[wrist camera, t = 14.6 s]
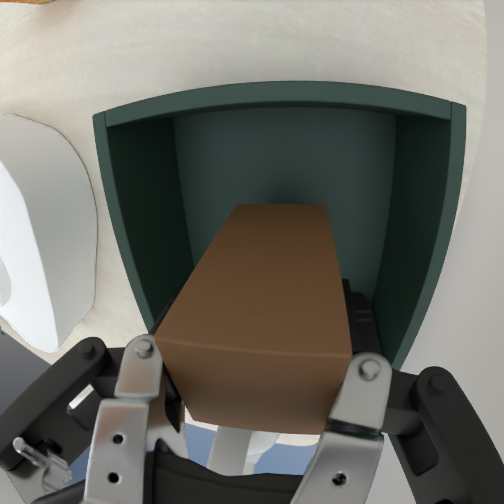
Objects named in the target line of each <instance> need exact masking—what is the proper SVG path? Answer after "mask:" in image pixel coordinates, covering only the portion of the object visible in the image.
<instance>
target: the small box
mask: <svg viewBox="0 0 504 504" xmlns="http://www.w3.org/2000/svg"><path fill="white" fill-rule="evenodd" d="M50 1H54V0H0V2H18V3H29V4H39V5H40V4H43V3H46V2H50Z"/></svg>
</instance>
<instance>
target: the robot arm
mask: <svg viewBox="0 0 504 504" xmlns="http://www.w3.org/2000/svg"><path fill="white" fill-rule="evenodd" d="M341 279H342V285H343V291H344V297H345V303H346V310H347V316H348V323H349V331H350V338H351V346H352V358H351V361H350V364H349V367H348V370H347V373H346V376H345V379H344V381H343V382H341V383H340V386H339V389H338V392H337V395H336V398H335V401H334V404H333V406H332V409H331V412H330V415H329V417H328V419H327V421H326V424H325V426H324V429H323V431H322V434H321V436H320V439H319V441H318V443H317V446H316V448H315V451H314V453H313V455H312V457H311V459H310V462H309V464H308V466H307V468H306V470H305V472H304V475H288V474H273V473H262V474H251V475H236V476H225V475H221V474H219V473H216V472H214V471H212V470H210V469H208V468H206V467H204V466H202V465H200V464H198V463H196V462H194V461H192V460H190V459H189V458H188V457H189V456H188V449H187V445H186V442H185V436H184V424H185V404H184V402H183V400H182V398H181V396H180V394H179V392H178V391H177V389H176V387H175V384H174V382H173V380H172V378H171V376H170V374H169V372H168V370H167V368H166V366H165V363H164V361H163V359H162V357H161V355H160V352H159V350H158V348H157V345H156V343H155V341H154V335H155V333H156V332H157V330H158V328H159V326H160V325H161V323H162V321H163V320H164V318H165V316H166V315H167V313H168V311H169V310H170V308H171V306H172V305H173V303H174V301H175V300H176V298H177V296H178V295H179V293H180V292H181V290H182V288H183V287H184V285H185V284H183V285H182V286H181V287H179V288H178V289H177V290H175V292H174V293H173V295H172V296H171V298H170V299H169V300H170V301H168V303H167V304H166V306H165V309H163V311H162V312H161V314H160V315H159V317H158V319H157V320H156V322H155V323H154V325H153V327H152V328H151V330H150V332H149V333H148V334H143V335H139V336H137V337H135V338H134V339H132V340H131V341H130V342H129V343H128V344H127V346H126V347H122V348H107V347H106V345H105V344H104V342H103V340H101V339H100V338H98V337H88V338H85V339H83V340H81V341H80V342H78V343H77V344H76V345H75V346H74V347H73V348H71V349H70V350H69V351H68V352H67V353H66V354H64V355H63V356H62V357H61V358H60V359H59V360H58V361H56V362H55V363H54V364H53V365H52V366H51V367H50V368H48V369H47V370H46V371H45V372H44V373H43V374H42V375H41V376H40V377H38V378H37V379H36V380H35V381H34V382H33V383H32V384H31V385H30V386H29V387H27V388H26V389H25V390H24V391H23V392H22V393H21V394H20V395H19V396H18V397H17V398H16V399H14V400H13V401H12V402H11V403H10V404H9V405H8V406H7V407H6V408H5V409H4V410H3V411H2V412H1V413H0V467H1V468H2V469H3V470H4V471H5V472H6V473H7V475H8V477H9V479H10V480H11V482H12V484H13V485H14V487H15V488H16V490H17V492H18V493H19V495H20V496H21V498H22V499H23V501H24V502H25V503H26V504H365V502H366V500H367V497H368V494H369V491H370V488H371V485H372V482H373V479H374V476H375V473H376V470H377V466H378V463H379V459H380V456H381V452H382V449H383V444H384V435H382V434H381V432H385V433H388V436H389V438H390V440H391V442H392V445H393V447H394V450H395V452H396V454H397V457H398V459H399V461H400V464H401V466H402V468H403V471H404V473H405V475H406V478H407V481H408V483H409V486H410V488H411V491H412V493H413V496H414V498H415V501H416V504H504V464H503V462H502V460H501V458H500V455H499V453H498V451H497V450H496V448H495V446H494V444H493V442H492V440H491V438H490V436H489V434H488V433H487V431H486V429H485V427H484V425H483V424H482V422H481V420H480V419H479V417H478V415H477V413H476V412H475V410H474V408H473V407H472V405H471V403H470V402H469V400H468V399H467V397H466V395H465V394H464V392H463V391H462V389H461V388H460V386H459V385H458V383H457V381H456V380H455V379H454V377H453V376H452V374H451V373H450V372H448V371H447V370H446V369H444V368H441V367H437V366H432V367H428V368H426V369H424V370H423V371H421V373H420V374H419V375H414V374H409V373H404V372H400V371H398V370H395V369H393V368H392V367H391V365H390V363H389V362H388V360H387V359H386V358H384V357H383V356H382V355H381V351H380V346H379V342H378V337H377V333H376V328H375V324H374V322H373V315H372V313H371V307H370V304H369V301H368V299H367V298H366V297H365V296H364V295H363V294H362V292H351V288H350V283H349V279H343V278H341ZM89 384H90V385H91V386H92V388H93V389H94V390H93V391H91V392H90V393H89V394H88V395H87V396H86V397H85V398H84V399H83V400H82V401H81V402H80V403H79V404H78V405H77V406H76V407H75V408H74V409H72V410H67V406H68V405H69V403H70V402H71V401H73V400H74V399H75V398H76V397H77V396H78V395H79V394H80V393H81V392H82V391H83V390H84V389H85V388H86V387H87V386H88V385H89ZM90 444H91V449H90V456H89V461H88V468H87V475H86V479H84V480H82V481H79V482H77V483H75V484H73V485H70V486H68V487H65V488H63V489H61V488H62V484H63V482H64V481H65V482H69V481H71V479H72V473H71V472H70V470H68V467H69V466H70V465H71V464H72V463H73V462H74V461H75V460H76V459H77V458H78V457H79V456H80V455H81V454H82V453H83V452H84V451H85V450H86V449H87V448H88V447H89V446H90Z"/></svg>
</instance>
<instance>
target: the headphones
mask: <svg viewBox="0 0 504 504" xmlns="http://www.w3.org/2000/svg"><path fill="white" fill-rule="evenodd" d="M279 435H280V433H273V432H263V431H254V430H246V429H238V428H232V427H225V426H218V429H217V432H216V435H215V438H214V441H213V445H212V449H211V452H210V455H209V459H208V463H207V467H206V468H208V469H210V470H212V471H214V472H216V473H219V474H221V475H225V476H236V475H251V474H253V471H254V466H255V463H257V462H258V461H259V459H260V457H261V455H262V454H263V452H265V451H267V450H268V449H270V448H271V447H272V445H273V444H274V443H275V442H276V441H277V439H278V437H279Z"/></svg>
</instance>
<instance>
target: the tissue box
mask: <svg viewBox="0 0 504 504" xmlns="http://www.w3.org/2000/svg"><path fill="white" fill-rule="evenodd" d="M97 229H98V226H97V213H96V206H95V201H94V196H93V192H92V188H91V184H90V181H89V177H88V174H87V172H86V169H85V167H84V165H83V163H82V161H81V159H80V158H79V156H78V154H77V153H76V151H75V150H74V148H73V147H72V146H71V144H70V143H69V142H68V141H67V139H66V138H65V137H64V136H62V135H61V134H60V133H59V132H57V131H56V130H55V129H53V128H51V127H49V126H46V125H43V124H40V123H38V122H35V121H32V120H29V119H26V118H23V117H20V116H17V115H13V114H5V115H1V116H0V315H1V316H2V317H3V318H4V319H5V320H6V321H7V322H8V323H9V324H10V325H11V326H12V327H13V328H14V329H15V331H16V332H17V333H18V334H19V335H20V336H21V337H22V338H23V339H25V340H26V341H27V342H28V343H29V344H31V345H32V346H33V347H35V348H37V349H39V350H41V351H44V352H49V353H55V352H56V351H57V350H58V349H59V348H60V346H61V345H62V344H63V343H64V341H65V340H66V339H67V337H68V336H69V335H70V334H71V332H72V331H73V330H74V329H75V328H76V326H77V325H78V324H79V323H80V321H81V320H82V319H83V318H84V317H85V315H86V314H87V313H88V312H89V311H90V309H91V308H92V306H93V303H94V299H95V269H96V249H97Z"/></svg>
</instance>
